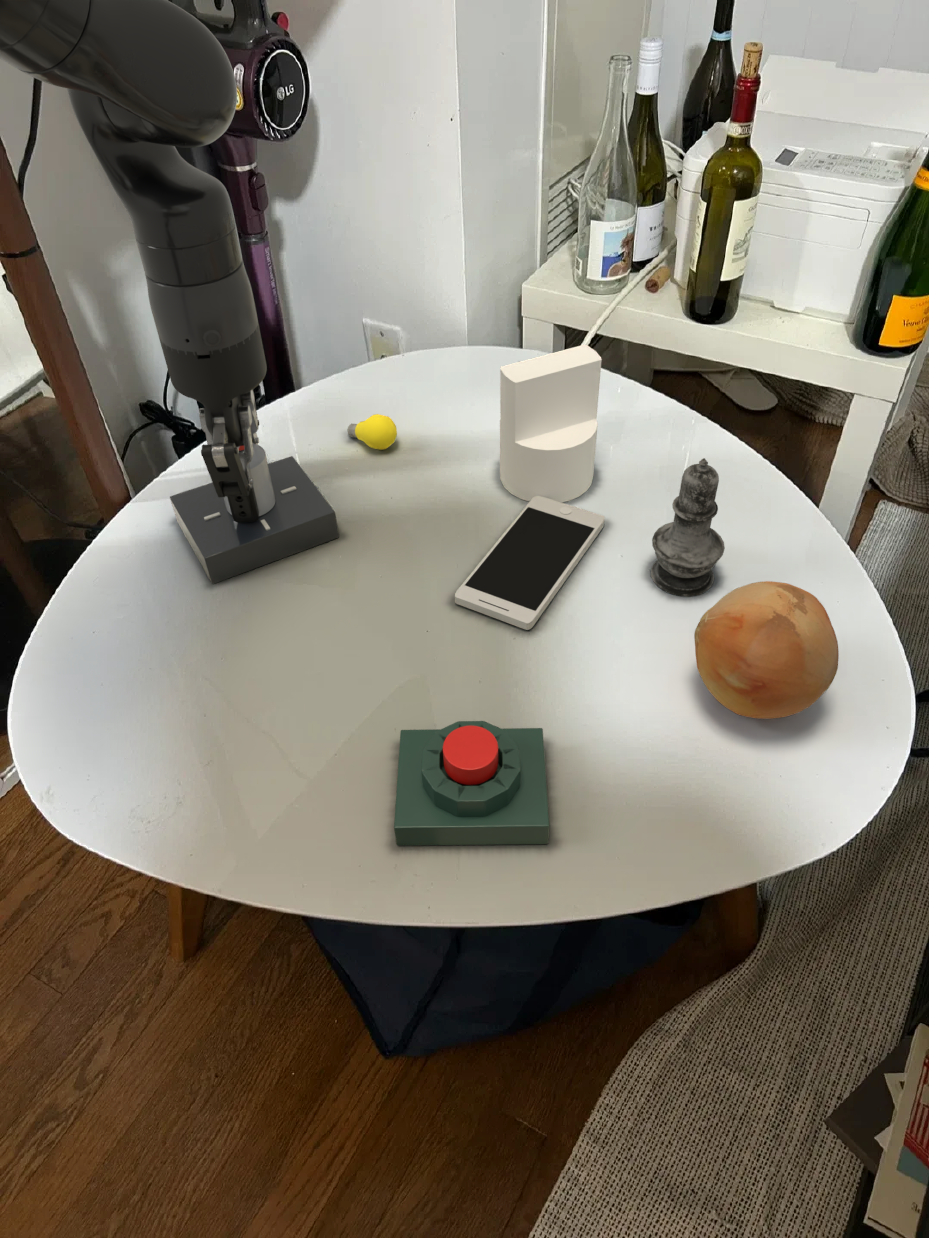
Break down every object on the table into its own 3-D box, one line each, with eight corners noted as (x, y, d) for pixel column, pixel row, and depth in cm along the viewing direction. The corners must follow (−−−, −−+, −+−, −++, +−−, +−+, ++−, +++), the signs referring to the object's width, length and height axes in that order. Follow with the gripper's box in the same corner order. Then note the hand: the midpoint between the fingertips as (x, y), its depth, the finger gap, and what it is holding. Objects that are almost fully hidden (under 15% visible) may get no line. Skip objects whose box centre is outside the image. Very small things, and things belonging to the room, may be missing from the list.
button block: (396, 846, 61) (391, 812, 58) (402, 748, 66) (398, 713, 64) (548, 844, 61) (550, 810, 58) (541, 746, 66) (543, 711, 63)
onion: (687, 638, 73) (707, 542, 66) (817, 656, 72) (852, 559, 65) (680, 733, 67) (702, 638, 60) (823, 755, 65) (863, 660, 58)
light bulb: (393, 457, 92) (375, 432, 89) (349, 454, 95) (331, 430, 93) (408, 432, 93) (392, 407, 90) (365, 430, 97) (348, 405, 94)
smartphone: (605, 523, 84) (606, 515, 83) (529, 631, 74) (529, 623, 73) (535, 501, 86) (535, 493, 85) (452, 603, 77) (452, 594, 76)
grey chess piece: (643, 593, 77) (661, 476, 69) (650, 548, 81) (668, 432, 73) (715, 603, 76) (742, 486, 68) (719, 557, 80) (745, 441, 72)
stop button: (443, 785, 60) (442, 770, 58) (444, 741, 62) (443, 725, 61) (498, 785, 60) (498, 769, 58) (497, 740, 62) (497, 724, 61)
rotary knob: (267, 520, 81) (256, 470, 77) (219, 517, 81) (205, 467, 77) (281, 489, 84) (271, 440, 80) (234, 487, 84) (222, 438, 80)
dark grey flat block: (212, 584, 79) (203, 557, 77) (177, 522, 86) (168, 494, 83) (339, 537, 83) (335, 510, 81) (297, 481, 90) (292, 454, 87)
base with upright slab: (564, 439, 93) (570, 329, 85) (610, 487, 87) (622, 374, 79) (484, 463, 91) (482, 352, 82) (526, 514, 85) (528, 400, 76)
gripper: (171, 284, 75) (216, 458, 87) (141, 375, 65) (196, 557, 77) (264, 278, 75) (295, 453, 87) (249, 368, 65) (287, 551, 77)
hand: (249, 501), depth 82 cm, fingers closed on rotary knob, 4 cm apart
